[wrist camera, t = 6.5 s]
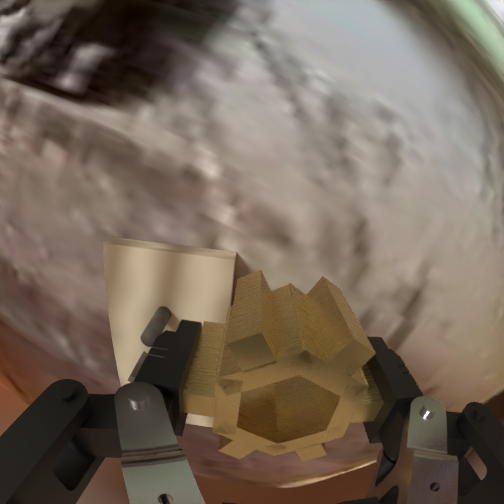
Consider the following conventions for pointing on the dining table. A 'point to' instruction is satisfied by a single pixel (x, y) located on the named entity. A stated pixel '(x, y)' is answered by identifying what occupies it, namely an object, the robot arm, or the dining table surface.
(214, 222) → the dining table surface
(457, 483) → the robot arm
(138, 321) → the gear board
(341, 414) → the brass gear
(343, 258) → the dining table surface
